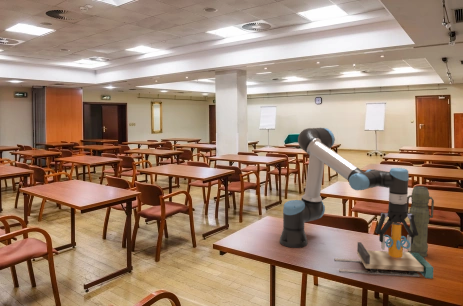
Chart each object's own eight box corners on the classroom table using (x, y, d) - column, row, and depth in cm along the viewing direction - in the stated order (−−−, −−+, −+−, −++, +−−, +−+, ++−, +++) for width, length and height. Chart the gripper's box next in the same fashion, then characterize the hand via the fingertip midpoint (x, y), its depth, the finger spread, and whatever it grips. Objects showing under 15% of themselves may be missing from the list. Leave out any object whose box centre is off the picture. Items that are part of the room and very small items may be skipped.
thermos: (403, 249, 176) (406, 184, 173) (428, 252, 172) (432, 186, 168) (405, 255, 168) (408, 187, 165) (431, 259, 164) (435, 189, 160)
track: (339, 273, 149) (340, 262, 149) (334, 258, 165) (334, 248, 165) (432, 278, 144) (433, 267, 143) (417, 262, 160) (418, 252, 159)
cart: (365, 272, 148) (366, 255, 147) (357, 258, 163) (357, 242, 163) (423, 276, 144) (424, 258, 144) (408, 260, 160) (409, 244, 159)
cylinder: (412, 261, 146) (413, 228, 145) (386, 260, 148) (388, 227, 147) (403, 251, 158) (405, 220, 156) (380, 249, 160) (381, 219, 158)
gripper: (373, 203, 148) (371, 251, 151) (428, 205, 145) (425, 253, 147) (369, 199, 156) (367, 245, 158) (421, 201, 153) (418, 247, 155)
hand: (395, 249), depth 153 cm, fingers closed on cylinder, 10 cm apart
